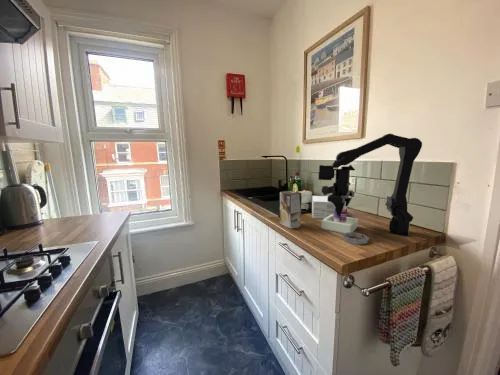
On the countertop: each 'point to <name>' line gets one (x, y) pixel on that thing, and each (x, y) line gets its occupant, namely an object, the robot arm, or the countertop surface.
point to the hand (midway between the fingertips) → (340, 214)
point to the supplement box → (321, 207)
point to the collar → (355, 241)
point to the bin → (339, 225)
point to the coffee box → (290, 209)
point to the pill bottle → (343, 216)
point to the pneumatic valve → (305, 198)
